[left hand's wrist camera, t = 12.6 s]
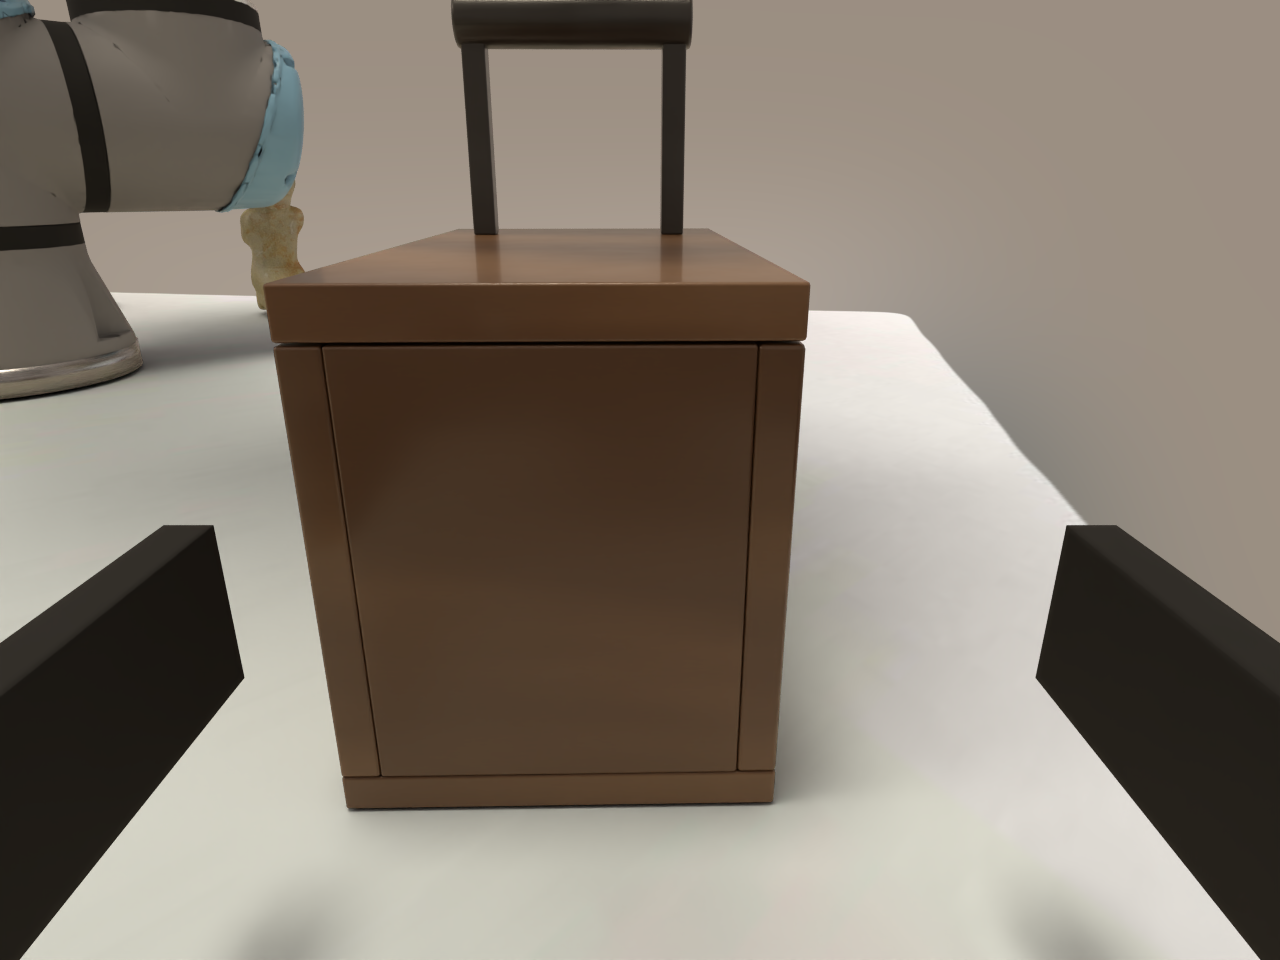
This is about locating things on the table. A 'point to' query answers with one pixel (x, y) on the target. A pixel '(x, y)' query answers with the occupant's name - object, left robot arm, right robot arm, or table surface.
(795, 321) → the lid
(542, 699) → the chest
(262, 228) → the sculpture
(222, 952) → the table surface
